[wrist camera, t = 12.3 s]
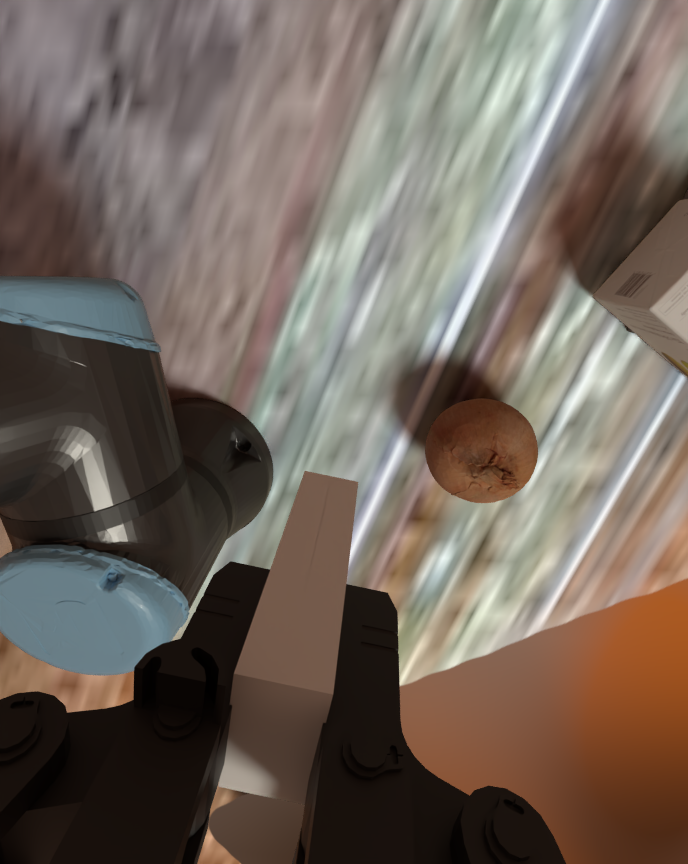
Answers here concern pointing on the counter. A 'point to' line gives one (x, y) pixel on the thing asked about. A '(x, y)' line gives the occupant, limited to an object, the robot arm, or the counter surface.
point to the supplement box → (655, 288)
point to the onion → (481, 450)
